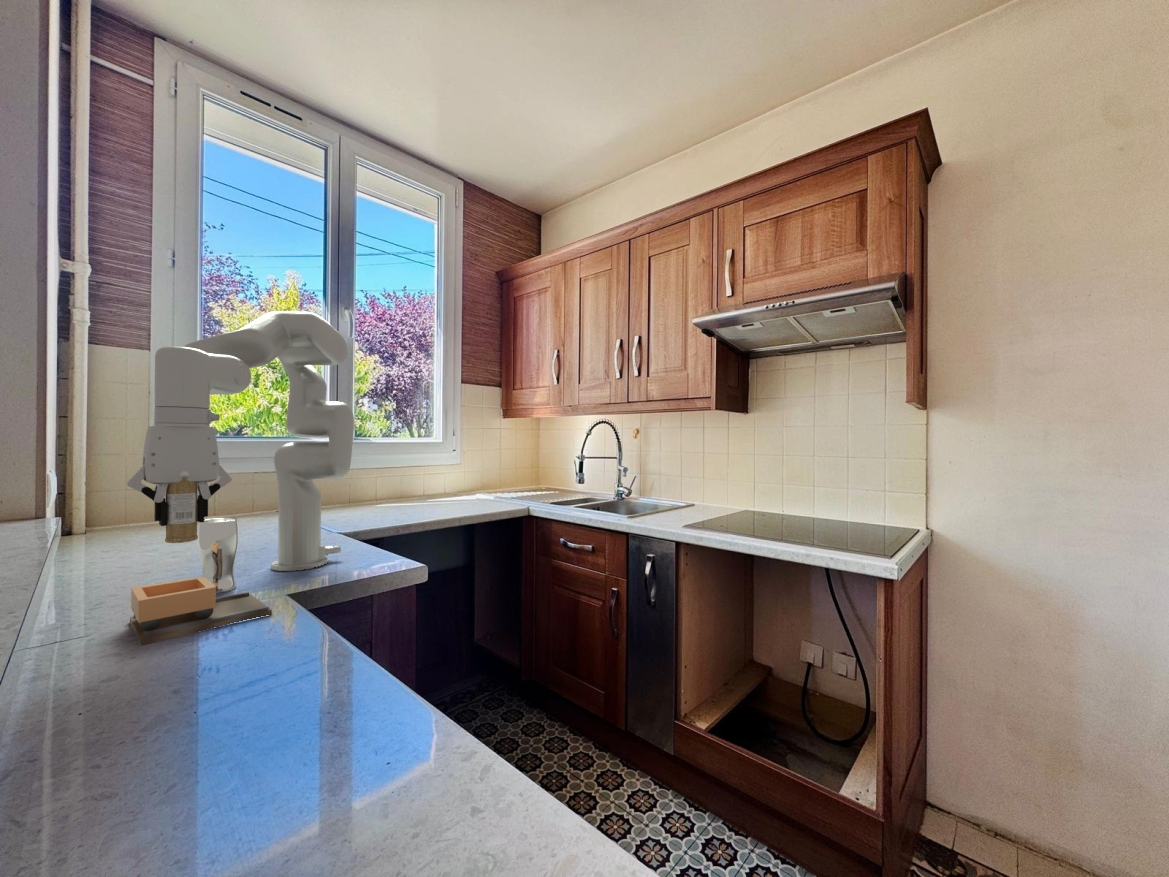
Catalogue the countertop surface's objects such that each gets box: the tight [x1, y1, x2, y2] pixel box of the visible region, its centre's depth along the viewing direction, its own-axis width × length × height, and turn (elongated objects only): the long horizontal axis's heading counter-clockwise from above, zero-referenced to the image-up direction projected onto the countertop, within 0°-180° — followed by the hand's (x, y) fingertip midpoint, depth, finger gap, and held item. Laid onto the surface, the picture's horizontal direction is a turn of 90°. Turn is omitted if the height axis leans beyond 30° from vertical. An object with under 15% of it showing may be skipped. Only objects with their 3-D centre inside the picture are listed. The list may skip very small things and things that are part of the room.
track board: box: [129, 591, 273, 646], centre depth 88 cm, size 18×14×2 cm
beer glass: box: [197, 517, 239, 594], centre depth 106 cm, size 7×7×15 cm
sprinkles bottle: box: [164, 471, 198, 544], centre depth 86 cm, size 5×5×14 cm
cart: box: [130, 575, 217, 631], centre depth 85 cm, size 10×10×5 cm
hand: (181, 522), depth 86 cm, fingers closed on sprinkles bottle, 4 cm apart
